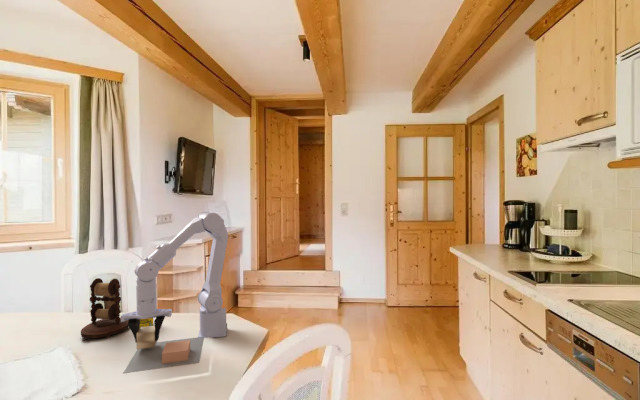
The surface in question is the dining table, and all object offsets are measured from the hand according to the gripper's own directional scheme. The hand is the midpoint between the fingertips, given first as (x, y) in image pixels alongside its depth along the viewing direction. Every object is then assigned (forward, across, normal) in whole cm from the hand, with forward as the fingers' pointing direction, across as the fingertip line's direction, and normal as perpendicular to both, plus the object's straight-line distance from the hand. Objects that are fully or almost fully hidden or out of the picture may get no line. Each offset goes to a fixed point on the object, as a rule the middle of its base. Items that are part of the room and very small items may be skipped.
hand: (147, 340), depth 103 cm
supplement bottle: (+3, -5, +19) cm, 20 cm away
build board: (+3, +7, -5) cm, 9 cm away
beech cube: (+1, 0, 0) cm, 1 cm away
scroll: (+3, -18, +19) cm, 26 cm away
